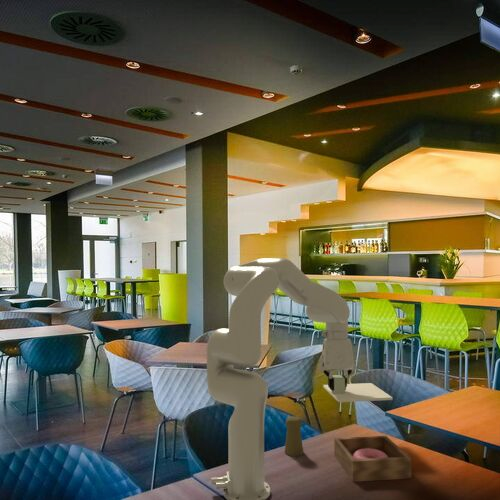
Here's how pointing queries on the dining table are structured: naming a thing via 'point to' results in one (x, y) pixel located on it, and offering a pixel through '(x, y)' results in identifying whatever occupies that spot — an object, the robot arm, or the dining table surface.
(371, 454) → the doughnut
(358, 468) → the open wooden box
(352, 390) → the lid
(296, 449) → the cork
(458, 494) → the dining table surface
